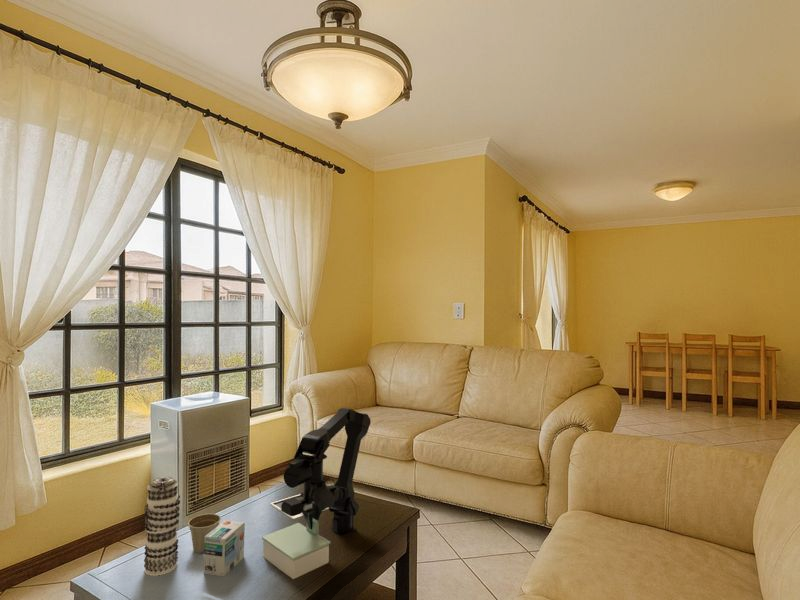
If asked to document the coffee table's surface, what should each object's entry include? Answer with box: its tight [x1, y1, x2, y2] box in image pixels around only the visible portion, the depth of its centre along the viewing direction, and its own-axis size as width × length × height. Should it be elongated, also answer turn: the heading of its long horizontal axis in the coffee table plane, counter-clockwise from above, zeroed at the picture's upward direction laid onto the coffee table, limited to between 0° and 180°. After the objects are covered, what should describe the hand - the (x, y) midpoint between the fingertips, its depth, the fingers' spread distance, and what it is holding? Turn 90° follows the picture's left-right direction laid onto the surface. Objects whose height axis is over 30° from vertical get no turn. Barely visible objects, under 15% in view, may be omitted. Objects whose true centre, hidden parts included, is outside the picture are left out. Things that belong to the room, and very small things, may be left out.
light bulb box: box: [203, 519, 246, 577], centre depth 133 cm, size 11×7×11 cm, turn 168°
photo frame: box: [269, 493, 329, 520], centre depth 173 cm, size 15×1×18 cm
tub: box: [262, 540, 330, 580], centre depth 136 cm, size 12×16×6 cm
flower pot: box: [187, 513, 222, 554], centre depth 143 cm, size 9×9×9 cm
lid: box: [261, 518, 331, 561], centre depth 136 cm, size 13×17×5 cm
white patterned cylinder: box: [143, 476, 181, 577], centre depth 132 cm, size 9×9×25 cm
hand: (312, 528), depth 140 cm, fingers closed on lid
